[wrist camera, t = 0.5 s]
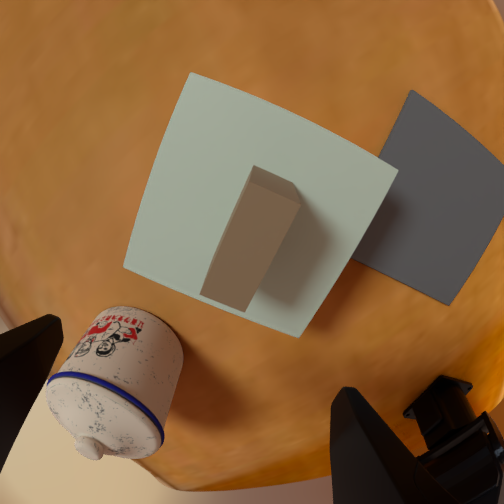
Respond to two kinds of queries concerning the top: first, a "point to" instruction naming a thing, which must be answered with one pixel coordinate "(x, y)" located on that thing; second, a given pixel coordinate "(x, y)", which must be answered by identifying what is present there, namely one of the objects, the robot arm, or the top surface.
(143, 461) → the top surface
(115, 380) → the teacup with lid
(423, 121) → the mat
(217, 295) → the lid
